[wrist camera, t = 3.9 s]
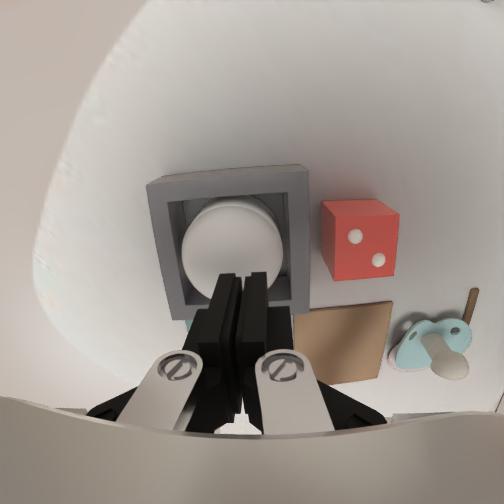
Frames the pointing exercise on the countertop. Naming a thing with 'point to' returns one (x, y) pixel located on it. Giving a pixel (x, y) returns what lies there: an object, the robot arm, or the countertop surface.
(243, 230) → the popper dome
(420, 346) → the pacifier
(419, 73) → the countertop surface
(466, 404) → the countertop surface
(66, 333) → the countertop surface
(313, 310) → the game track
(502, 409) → the soap bottle
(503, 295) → the countertop surface
